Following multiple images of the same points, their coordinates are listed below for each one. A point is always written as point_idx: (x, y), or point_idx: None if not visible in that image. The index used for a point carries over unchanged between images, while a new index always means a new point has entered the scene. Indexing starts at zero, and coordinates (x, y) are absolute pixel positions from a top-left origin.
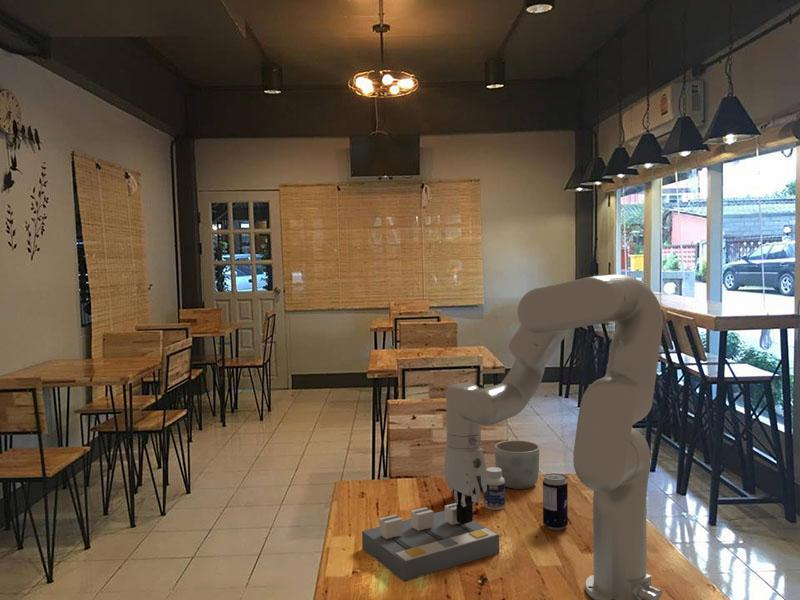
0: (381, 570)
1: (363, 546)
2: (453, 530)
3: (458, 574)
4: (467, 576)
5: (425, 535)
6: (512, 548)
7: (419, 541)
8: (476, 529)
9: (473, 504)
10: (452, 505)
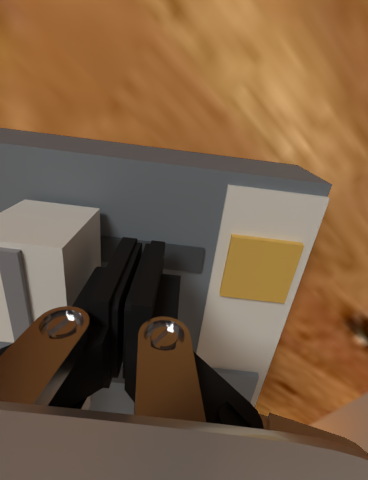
0: None
1: None
2: None
3: (289, 353)
4: (316, 345)
5: (115, 390)
6: (317, 81)
7: None
8: (199, 226)
9: (181, 324)
10: (13, 319)
